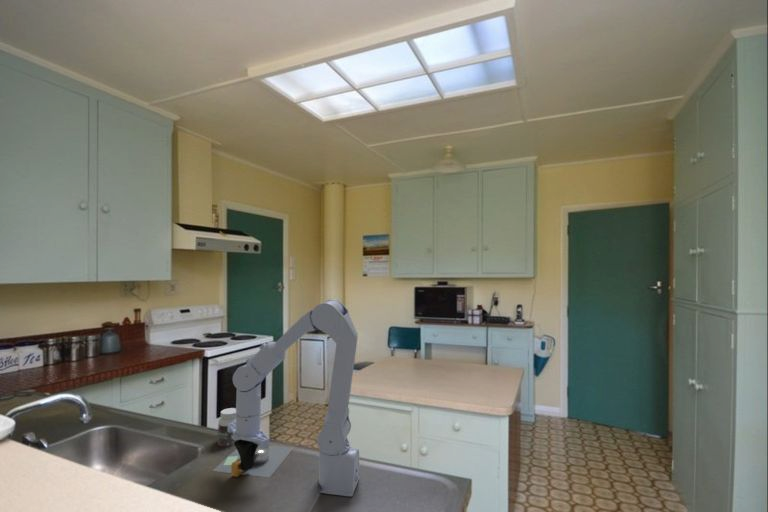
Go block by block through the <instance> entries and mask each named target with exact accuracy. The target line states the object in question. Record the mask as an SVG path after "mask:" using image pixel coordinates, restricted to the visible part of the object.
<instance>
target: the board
mask: <svg viewBox="0 0 768 512" xmlns="http://www.w3.org/2000/svg"><path fill="white" fill-rule="evenodd" d="M292 450H294V447H287V446H279V445H270V446H269V460H268V461H267V462H266V463H264V464H261V465H253V466H252V468H251V469H249V470H246V471H244V472H243V473H242V474H241V475H244V476H252V477H253V476H254V477H260V478H261V477H262V478H268V479H269V478H271V476H272V475H273V474H274V473H275V471H277V469H278V467H279V466H280V465H281V464H282V462H284V460H285V459H286V458H287V457H288V456H289V454H290V453H291V452H292ZM238 459H240V455H239V452H238V450H237V448H236V449H235V450H234V451H232V452H231V453H230V454H229V455H228V456H227V457H226V458H224V459H223V460H222V462H220V463H219V464H218V465H217V466H216V467H215V468H214V469H212V472H218V473H225V474H226V473H227V474H231V471H232V463H233V462H235V461H237V460H238Z"/></svg>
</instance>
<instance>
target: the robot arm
mask: <svg viewBox="0 0 768 512" xmlns="http://www.w3.org/2000/svg"><path fill="white" fill-rule="evenodd" d="M317 330H319V331H322V332H323V333H324V334H326V335H328V336H329V337H330V338H331V339H332V340H333V342H335V344H336V346H335V354H334V359H333V367H332V374H331V382H330V390H329V398H328V404H327V411H326V414H325V417H324V421H323V427H322V428H321V430H320V432H319V434H318V436H317V445H318V449H319V451H318V452H319V455H318V456H319V457H318V484H319V485H320V486H321V487H320V490H319V491H318V494H319V493H320V494H326V495H332V496H333V495H335V496H336V495H337V496H343V497H350V498H351V497H353V496H354V493H355V491H356V487H357V485H358V483H359V481H360V476H359V475H360V450H359V449H358V448H354V447H352V446H351V444H350V441H349V439H348V435H349V434H350V432H351V428H352V422H351V420H350V408H349V404H350V397H351V389H352V383H353V376H354V375H353V373H354V368H355V360H356V352H357V346H358V338H359V337H358V332H357V329H356V328H355V325H354V322H353V321H352V318H351V315H350V312H349V309H348V308H347V307H346V305H344V304H343V303H342V302H341V301H339V300H338V299H334V298H333V299H327V300H326V301H324V302H322V303H318V304H317V305H316V306H315V307H313V309H311V310H309V311H308V312H306V313H305V314H304V315H302V316H301V317H300V318H299V319H298V320H297V321H296V322H294V324H293V325H292V326H291V327H290V328H289V329H288V330H286V331H285V333H284V334H283V335H282V336H280V337H279V339H278V340H276V341H267V343H266V342H264V343H262V344H260V346H259V350H258V351H257V352H256V353H255V354H254V355H253V356H252V357H251V356H250V357H248V358H247V359H246V360H245V362H246V364H244V365H242V366H239V367H238V368H236V370H235V371H234V373H233V374H232V383H233V386H234V387H235V388H236V393H235V394H236V396H235V397H236V401H235V409H236V422H233V423H230V424H228V428H227V432H229V433H231V432H232V433H233V434H234V435H232V439H233V440H237V441H235V442H234V447H235V448H236V449H237V450H238V452H239V455H240V458H241V466H242V470H244V471H246V470H249V469H251V468H252V466H253V460H254V454H255V452H256V449H257V447H258V446H259V445H260V448H261V449H264V448H267V447H269V446H271V439H270V438H271V437H268V436H267V435H266V433H265V432H264V430H262V429H261V409H262V408H261V405H262V403H261V401H262V382H263V381H264V380H265V378H266V377H267V376H268V375H269V374H270V373H271V372H272V371H273V370H274V369H275V368H276V367H278V366H279V365H280V364H281V363H282V362H283V361H284V360H285V359H286V351H287V350H288V349H289V348H291V347H292V346H293V345H294V344H296V342H297V341H298V340H300V339H301V338H302V337H303V336H304V335H305V334H306V333H308V332H314V331H317Z"/></svg>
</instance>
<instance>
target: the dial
mask: <svg viewBox="0 0 768 512" xmlns="http://www.w3.org/2000/svg"><path fill="white" fill-rule="evenodd" d="M268 460H269V447H267V448H264V449H261V448H260V445H259V446H258V447H257V449H256V452H255V454H254V460H253V465H261V464H264V463H266V462H267V461H268ZM243 472H244V470H242V466H241V458H240V459H238V460H237V461H235V462H233V463H232V471H231V473H230V474H231V475H230V476H231V477H235V478H238V477H240V475H242V473H243Z"/></svg>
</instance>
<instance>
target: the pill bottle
mask: <svg viewBox="0 0 768 512" xmlns="http://www.w3.org/2000/svg"><path fill="white" fill-rule="evenodd" d="M233 422H236V407H230V408H224V409H222V410H221V411H220V419H219V420H218V426H217V427H218V428H217V445H218V446H219V447H220V446H221V447H230V446H233V445H234V442H235V441H237V440H233V439H232V435H234V434H233V433H232V432H231V433H229V432H227V428H228V424H230V423H233ZM234 446H235V445H234Z"/></svg>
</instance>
